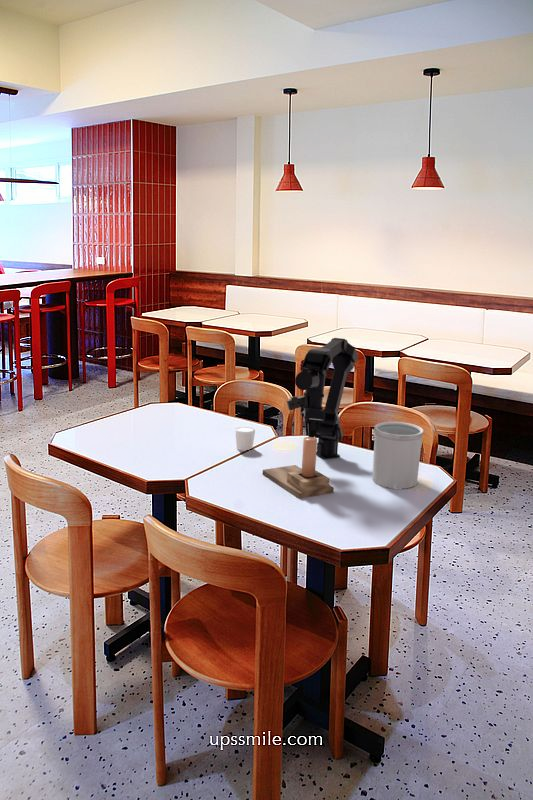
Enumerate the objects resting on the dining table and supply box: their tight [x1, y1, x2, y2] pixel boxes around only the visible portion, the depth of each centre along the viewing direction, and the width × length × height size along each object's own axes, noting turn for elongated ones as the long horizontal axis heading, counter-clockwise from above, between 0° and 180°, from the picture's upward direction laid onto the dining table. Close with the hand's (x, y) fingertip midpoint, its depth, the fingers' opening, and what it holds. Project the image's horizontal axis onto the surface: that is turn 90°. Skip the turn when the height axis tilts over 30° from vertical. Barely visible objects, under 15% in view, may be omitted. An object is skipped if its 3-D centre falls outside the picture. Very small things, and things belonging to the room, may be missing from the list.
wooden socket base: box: [262, 464, 335, 499], centre depth 207 cm, size 12×22×4 cm, turn 29°
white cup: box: [235, 426, 256, 452], centre depth 239 cm, size 7×7×7 cm
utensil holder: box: [372, 421, 425, 490], centre depth 210 cm, size 15×15×18 cm
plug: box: [301, 436, 318, 477], centre depth 200 cm, size 4×4×11 cm
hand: (309, 437), depth 217 cm, fingers open, 9 cm apart
